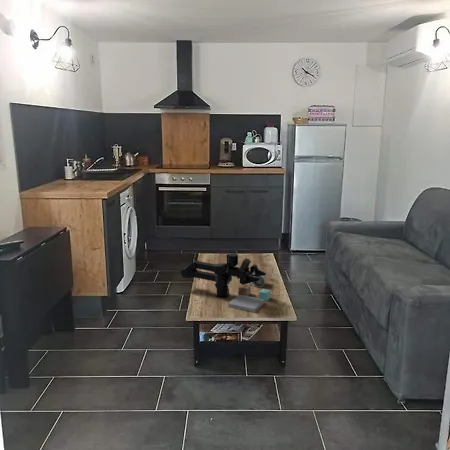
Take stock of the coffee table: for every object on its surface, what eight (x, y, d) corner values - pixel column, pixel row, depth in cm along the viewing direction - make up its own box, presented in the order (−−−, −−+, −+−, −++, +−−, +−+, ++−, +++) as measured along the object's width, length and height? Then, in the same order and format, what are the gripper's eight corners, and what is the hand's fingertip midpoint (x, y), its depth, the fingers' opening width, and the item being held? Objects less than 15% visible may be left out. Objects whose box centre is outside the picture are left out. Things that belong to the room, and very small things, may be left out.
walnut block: (238, 295, 263) (238, 286, 262) (242, 292, 268) (242, 283, 266) (246, 297, 260) (246, 288, 259) (250, 293, 265) (250, 285, 264)
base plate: (228, 306, 248) (228, 303, 247) (239, 297, 260) (239, 294, 259) (254, 312, 241) (254, 309, 240) (264, 302, 253) (264, 299, 252)
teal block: (259, 299, 257) (259, 291, 256) (262, 296, 262) (262, 288, 260) (267, 301, 255) (267, 293, 254) (270, 298, 259) (270, 290, 258)
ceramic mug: (266, 283, 281) (266, 271, 280) (264, 288, 274) (264, 276, 272) (250, 281, 284) (250, 270, 282) (247, 286, 277) (247, 275, 275)
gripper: (230, 263, 244) (256, 268, 237) (244, 254, 260) (269, 258, 253) (230, 282, 247) (255, 287, 240) (244, 272, 263) (268, 276, 256)
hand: (262, 276), depth 247 cm, fingers open, 9 cm apart
